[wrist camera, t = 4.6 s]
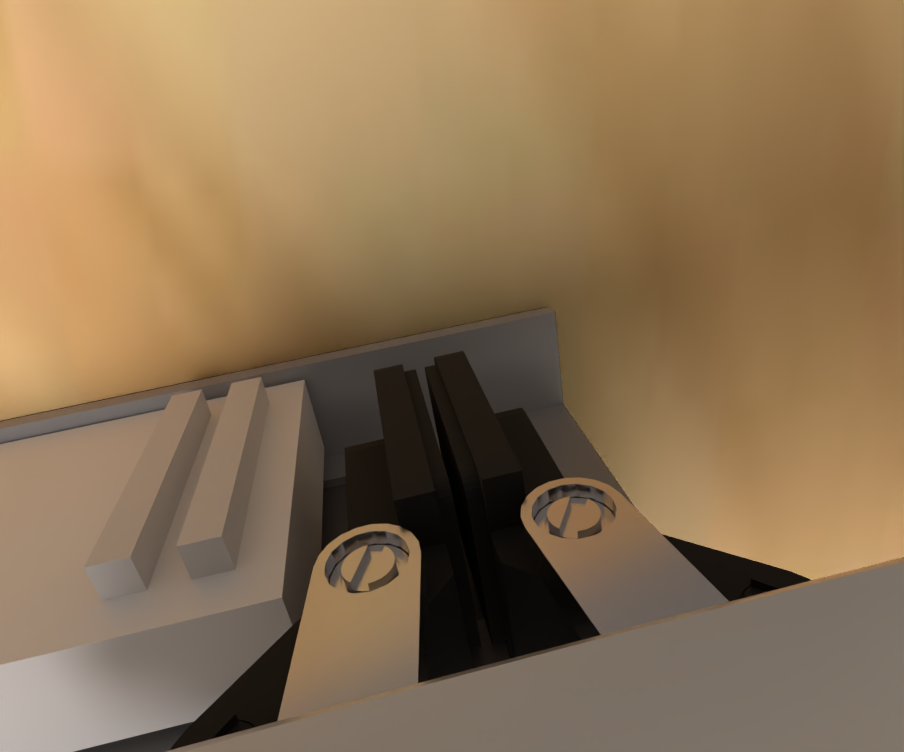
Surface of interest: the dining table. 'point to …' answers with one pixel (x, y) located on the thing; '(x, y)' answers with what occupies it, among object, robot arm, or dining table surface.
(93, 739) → the door
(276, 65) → the dining table surface
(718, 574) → the robot arm
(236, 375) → the camera case
